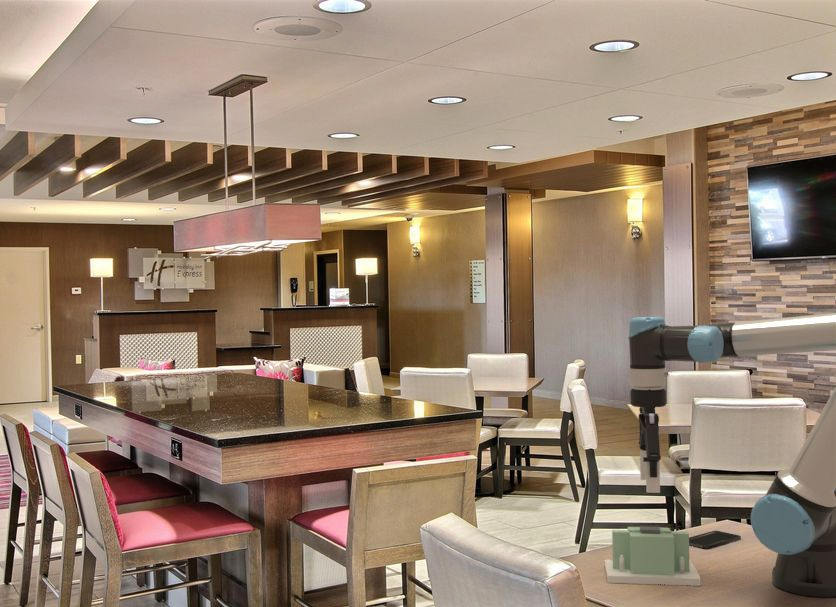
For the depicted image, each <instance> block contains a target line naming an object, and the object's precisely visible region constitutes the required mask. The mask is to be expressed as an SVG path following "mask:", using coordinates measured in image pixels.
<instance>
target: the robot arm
mask: <svg viewBox="0 0 836 607" xmlns="http://www.w3.org/2000/svg"><path fill="white" fill-rule="evenodd" d="M628 329H629V331H628V332H629V333H628V343H629V345H628V346H629V386H630V387H632V388H631V389H630V390H629V392H630V393H629V395H630V400H629V401H630V405H631V406H632V407H634V408H635V407H636V408H639V414H638V416H637V417H638V426H639V436H638V437H639V439H638V440H639V441H638V445H639V449H640V450H639V464H640V467H639V470H640V481H645V485H646V490H645V492H646V493H647V494H648V493H649V494H650V493H654V494H660V493H661V479H660V478H661V476H660V475H661V474H660V471H661V470H660V469H661V468H660V460H661V459H662V456H661V448H660V434H659V432H660V431H659V430H660V427H659V422H660V416H659V414H658V413H656V408H663V407H665V406H667V390H666V389H665V388H664V387H665V386H666V385H667V383H666V381H667V380H666V377H669V372H667V371H666V361H667V362H687V363H688V362H689V363H691V362H692V363H693V362H695V363H700V364H704V363H715V362H718V361H719V360H720V359H724V358H725V359H726V358H738V357H750V356H751V357H752V356H753V357H755V356H766V355H768V356H769V355H782V354H797V353H800V354H801V353H813V352H814V353H816V352H828V351H836V312H830V313H821V314H820V313H819V314H810V315H798V316H789V317H788V316H787V317H777V318H769V319H768V318H766V319H765V318H764V319H758V320H756V319H755V320H747V321H736V322H725V323H723V322H721V323H719V322H718V323H712V324H700V325H676V326H674V325H666V321H665V319H664V318H663V316H636V317H633V318H631V319H630V321H629V328H628ZM750 524H751V528H752V531H753V533H754V535H755V537H756V538H757V540H758V541H759V542H760V543H761V544H762V545H763V546H764V547H765V548H767V549H768V550H770V551H772V552H773V553H777V556H776V560H775V565H774V566H773V567H772V570H771V582H772V584H773V585H774V586H775V587H776V588H777V589H778V588H779V589H780V590H782V591H786V592H788V593H792V594H796V595H799V596H800V595H801V596H805V597H806V596H808V597H815V598H833V597H835V598H836V386H835V387H834V389H833V391H832V393H831V394H830V396H829V398H828V400H827V402H826V404H825V405H824V407H823V409H822V411H821V412H820V414H819V416H818V418H817V420H816V421H815V424H814V425H813V427H812V428H811V431H810V432H809V434H808V435H807V437H806V440H805V441H804V443H803V445H802V446H801V448H800V450H799V452H798V454H797V455H796V457H795V459H794V461H793V463H792V464H791V466H790V468H786V469H785V468H784V469H782V470H779V471H778V472H777V474H776V476H775V478H774V480H773V481H772V483H771V484H770V486H769V488H768V490H767V492H766V493H765V495H764V496H762V497H760V498H759V499H758V500H757V501H756V502H755V503H754V506H753V507H752V509H751V513H750Z"/></svg>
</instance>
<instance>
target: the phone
mask: <svg viewBox="0 0 836 607" xmlns="http://www.w3.org/2000/svg"><path fill="white" fill-rule="evenodd" d="M741 540H742V537H741V535H739V534H735V533H729V532H724V531H720V530H712V531H708V532H705V533H701V534H697V535H693V536H689V547H692V546H693V548H696V549H700V550H711V549H716V548H718V547H721V546H725V545H728V544H732V543H736V542H738V541H741Z"/></svg>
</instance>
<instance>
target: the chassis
mask: <svg viewBox="0 0 836 607" xmlns="http://www.w3.org/2000/svg"><path fill="white" fill-rule="evenodd" d="M619 561H620V569H613V559H604V569H605V570H604V571H605V576H606V581H607V583H608V584H631V585H632V584H633V585H658V584H659V585H660V584H661V585H663V586H665V585H666V586H687V585H688V586H689V585H690V586H694V587H701V585H702V584H701V577H700V575H699V573H698V571H697V569H696V567H695V565H694V563H693V562H692V561H689V565H690V571H685V570H684V557H680V558H679V563H680V571H674V572H675V575H654V574H631V572H630V570H628V569H624V556H623V555H620V557H619ZM664 584H665V585H664ZM659 585H658V586H659Z"/></svg>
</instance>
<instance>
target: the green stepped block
mask: <svg viewBox="0 0 836 607" xmlns="http://www.w3.org/2000/svg"><path fill="white" fill-rule="evenodd" d="M611 534H612V535H611V537H612V538H611V539H612V541H611V542H612V546H611V547H612V560H613V569H620V561H619V557H620V555H623V556H624V569H628V570H630V572H631V574H654V575H675V572H674V571H680V563H679V558H680V557H684V570H685V571H690V565H689V562H690V546H689V538H690V533H689V532H688V531H681V530H680V531H674V530H671V529H670V527H660V526H643V525H642V526H627V529H612V530H611Z"/></svg>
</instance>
